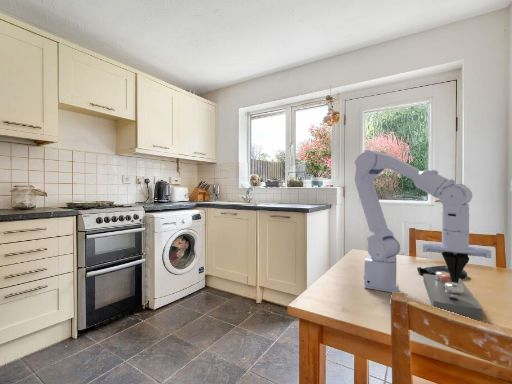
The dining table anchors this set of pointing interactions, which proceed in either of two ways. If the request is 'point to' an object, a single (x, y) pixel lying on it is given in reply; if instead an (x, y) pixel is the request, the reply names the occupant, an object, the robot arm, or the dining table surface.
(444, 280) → the middle knob
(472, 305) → the knob mount
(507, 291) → the dining table surface
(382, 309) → the dining table surface
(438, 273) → the far knob
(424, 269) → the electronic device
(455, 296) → the near knob
